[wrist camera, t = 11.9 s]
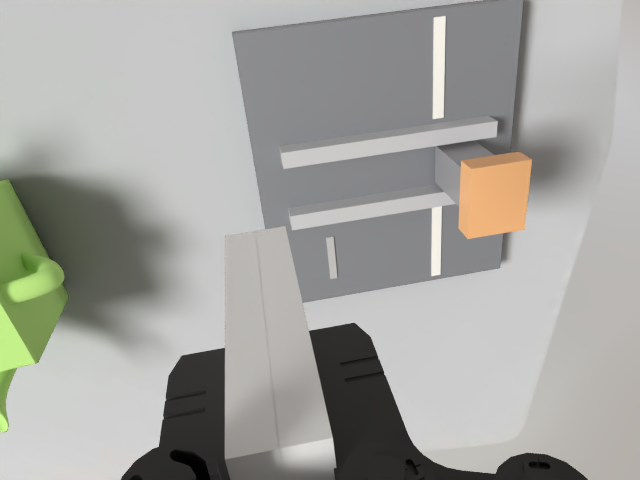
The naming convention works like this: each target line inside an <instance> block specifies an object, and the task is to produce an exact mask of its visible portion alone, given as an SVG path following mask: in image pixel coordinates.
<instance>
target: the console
mask: <svg viewBox="0 0 640 480" xmlns="http://www.w3.org/2000/svg"><path fill="white" fill-rule="evenodd" d="M522 11H523V0H483V1H475V2H467V3H459V4H451V5H443V6H435V7H427V8H419V9H411V10H403V11H395V12H387V13H379V14H371V15H363V16H355V17H347V18H339V19H331V20H323V21H315V22H307V23H299V24H291V25H283V26H275V27H267V28H259V29H251V30H243V31H235V32H232V35H233V41H234V47H235V53H236V59H237V65H238V71H239V77H240V82H241V88H242V94H243V100H244V106H245V112H246V118H247V124H248V130H249V135H250V141H251V147H252V153H253V159H254V165H255V171H256V177H257V183H258V188H259V194H260V200H261V206H262V212H263V218H264V224H265V229H271V228H277V227H283V226H285V227H286V231H287V236H288V240H289V245H290V249H291V254H292V258H293V263H294V267H295V272H296V276H297V280H298V285H299V289H300V294H301V298H302V303H304V302H310V301H316V300H321V299H327V298H333V297H338V296H344V295H350V294H355V293H361V292H367V291H372V290H378V289H384V288H390V287H395V286H401V285H407V284H412V283H418V282H424V281H429V280H435V279H441V278H446V277H452V276H458V275H464V274H469V273H475V272H481V271H486V270H492V269H498V268H500V264H501V252H502V241H503V233H501V234H495V235H489V236H483V237H477V238H471V239H467V238H466V236H465V235H464V234H463V233H462V232H461V231H460V230H459V228H458V227H459V207H458V205H457V204H456V203H455V202H454V201H453V200H452V199H451V198H450V197H449V196H448V195H447V194H446V193H445V192H444V191H443V190H442V189H441V188H440V187H439V185H438V184H437V183H436V182H435V147H436V146H440V145H446V144H453V143H460V142H466V141H473V140H474V141H476V142H477V143H479V144H480V145H481V146H483V147H484V148H485V149H487V150H488V151H490V152H491V153H492V154H494V155H500V154H506V153H510V149H511V137H512V126H513V114H514V103H515V91H516V80H517V68H518V57H519V45H520V34H521V22H522Z"/></svg>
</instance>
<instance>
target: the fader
mask: <svg viewBox="0 0 640 480" xmlns="http://www.w3.org/2000/svg"><path fill="white" fill-rule="evenodd" d="M531 166H532V159H530V158H529V157H527V156H526V155H524V154H523V153H521V152H520V151H519V152H513V153H506V154H500V155H494V154H492V153H491V152H490V151H488V150H487V149H485V148H484V147H483V146H481V145H480V144H479V143H477V142H476V141H474V140H473V141H466V142H460V143H453V144H446V145H440V146H436V147H435V182H436V183H437V184H438V185H439V187H440V188H441V189H442V190H443V191H444V192H445V193H446V194H447V195H448V196H449V197H450V198H451V199H452V200H453V201H454V202H455V203H456V204H457V205H458V207H459V227H458V228H459V230H460V231H461V232H462V233H463V234H464V235H465V236H466V238H467V239H471V238H477V237H483V236H489V235H495V234H501V233H507V232H513V231H519V230H524V229H525V220H526V211H527V202H528V193H529V184H530V175H531Z"/></svg>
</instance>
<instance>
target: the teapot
mask: <svg viewBox="0 0 640 480" xmlns="http://www.w3.org/2000/svg"><path fill="white" fill-rule="evenodd" d="M64 277H65V276H64V272H63V270H62V268H61V267H60V266H59V265H58V264H57V263H56V262H55V261H53V260H50V258H49V256H48V254H47V252H46V250H45V248H44V246H43V245H42V243H41V241H40V239H39V237H38V235H37V233H36V231H35V229H34V227H33V225H32V223H31V221H30V219H29V218H28V216H27V214H26V212H25V210H24V208H23V206H22V204H21V202H20V200H19V198H18V196H17V194H16V192H15V191H14V189H13V187H12V185H11V183H10V181H9V179H6V180H2V181H0V432H6V431H7V430H8V427H9V424H8V418H7V412H6V397H7V392H8V389H9V386H10V383H11V381H12V378H13V376H14V374H15V372H16V369H17V368H18V367H22V366H26V365H31V364H36V363H38V362H39V360H40V358H41V356H42V353H43V351H44V349H45V347H46V345H47V343H48V341H49V339H50V336H51V334H52V332H53V330H54V328H55V326H56V324H57V321H58V319H59V317H60V315H61V313H62V311H63V309H64V307H65V304H66V302H67V300H68V298H69V295H68V293H67V291H66V289H65V287H64V285H63V281H64Z"/></svg>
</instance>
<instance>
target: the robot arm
mask: <svg viewBox="0 0 640 480" xmlns="http://www.w3.org/2000/svg"><path fill="white" fill-rule="evenodd" d="M163 416H164V420H163V421H162V428H161V436H160V443H159V447H157V448H154V449H152V450H151V451H149V452H148V453H146V454H145V455H143V456H142V457H141V458H139V459H138V460H136V461H135V462H134V463H133V465H132V466H131V467H130V468H129V469H128V471H127V472H126V473H125V474H124V475H123V476H122V478H121V480H588V479H587V478H585V477H584V475H582V474H581V473H580V472H578V471H577V470H576V469H574V468H573V467H572V466H570V465H569V464H568V463H566V462H564V461H561V460H559V459H556V458H554V457H551V456H549V455H545V454H534V453H525V454H521V455H517V456H513V457H510V458H509V459H508V460H506V461H505V462H504V463H503V464H501V465H500V466H499V467H498V469H497V472H496V474H490V473H480V472H470V471H461V470H456V469H451V468H446V467H444V466H442V465H439V464H437V463H434V462H433V461H431V460H430V459H428V458H427V457H426V456H424V455H423V454H422V453H421V452H420V451H419V450H418V449H417V448H416V447H415V446H414V445H413V443H412V441H411V439H410V437H409V435H408V433H407V431H406V428H405V425H404V423H403V420H402V418H401V415H400V412H399V410H398V407H397V405H396V402H395V399H394V397H393V394H392V392H391V389H390V386H389V384H388V381H387V379H386V376H385V375H384V371H383V368H382V366H381V363H380V360H378V355H377V353H376V350H375V347H374V345H373V342H372V340H371V337H370V336H369V335H368V334H367V333H365V332H364V331H363V330H362V329H361V328H360V327H359V326H358V325H356V324H355V323H351V324H345V325H340V326H334V327H329V328H323V329H317V330H312V331H309V330H308V325H307V321H306V316H305V312H304V307H303V303H302V298H301V294H300V289H299V285H298V280H297V276H296V272H295V267H294V263H293V258H292V254H291V249H290V245H289V240H288V236H287V231H286V227H285V226H283V227H277V228H271V229H265V230H259V231H252V232H246V233H240V234H234V235H228V236H225V348H222V349H216V350H211V351H205V352H200V353H194V354H189V355H183V356H181V358H180V359H179V361H178V362H177V364H176V365H175V367H174V369H173V370H172V372H171V373H170V375H169V378H168V385H167V392H166V401H165V407H164V414H163Z"/></svg>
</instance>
